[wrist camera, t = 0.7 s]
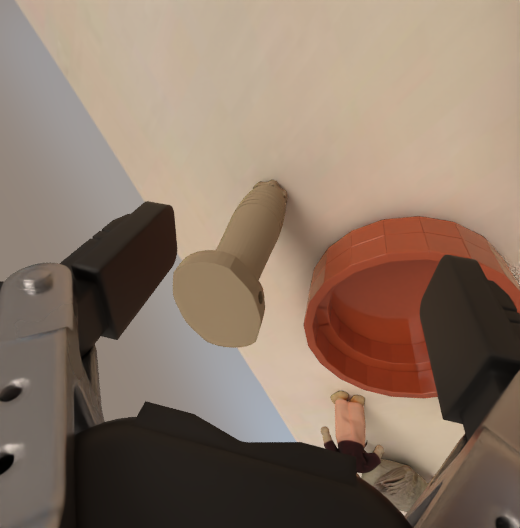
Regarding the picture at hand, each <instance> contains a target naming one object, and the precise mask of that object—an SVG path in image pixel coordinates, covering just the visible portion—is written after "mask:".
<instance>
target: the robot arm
mask: <svg viewBox="0 0 520 528" xmlns="http://www.w3.org/2000/svg"><path fill="white" fill-rule="evenodd" d="M176 255H177V241H176V229H175V218H174V211H173V208H172V206H170V205H165V204H160V203H154V202H148V201H147V202H144V203H143V204H142V205H141V206H140V207H138V208H137V209H136V210H135V211H134V212H133V213H131V214H127V215H125V216H122V217H120V218H117V219H115V220H113V221H112V222H110V223H109V224H108V225H107V226H105V227H104V228H103V229H102V231H99V232H98V233H97V234H95V235H94V236H93V239H89V240H88V241H87V242H86V243H84V244H83V245H82V246H81V247H79V248H78V249H77V250H76V251H74V252H73V253H72V254H71V255H70V256H69V257H67V258H66V259H65V260H63V261H62V262H61V263H60V264H58V263H40V264H35V265H31V266H28V267H25V268H23V269H21V270H18V271H17V272H15V273H13V274H12V275H11V276H9V277H8V278H7V279H6V280H5V281H4V282H0V528H520V314H519V313H518V312H517V308H516V307H515V305H514V303H513V301H512V300H511V298H510V296H509V295H508V294H507V293H506V292H505V291H504V290H503V289H502V288H500V287H499V286H498V285H497V284H496V283H495V282H494V281H490V280H487V278H486V276H485V274H484V272H483V270H482V268H481V266H480V264H479V263H478V261H477V260H475V259H470V258H464V257H458V256H453V255H444V256H443V257H442V258H441V260H440V262H439V264H438V266H437V268H436V270H435V272H434V274H433V276H432V278H431V280H430V282H429V284H428V287H427V289H426V291H425V293H424V295H423V297H422V300H421V304H420V320H421V324H422V329H423V333H424V337H425V342H426V346H427V351H428V355H429V359H430V364H431V368H432V373H433V377H434V381H435V386H436V390H437V395H438V399H439V403H440V408H441V412H442V417H443V419H444V420H448V421H452V422H456V423H460V424H463V426H464V430H465V434H464V436H463V437H462V438H461V439H460V440H459V442H458V443H457V445H456V446H455V447H454V449H453V450H452V452H451V453H450V455H449V456H448V457H447V459H446V460H445V462H444V463H443V464H442V466H441V467H440V469H439V470H438V472H437V473H436V474H435V476H434V477H433V479H432V480H431V482H430V483H429V484H428V486H427V487H426V489H425V490H424V491H423V493H422V494H421V496H420V497H419V498H418V500H417V501H416V502H415V503H414V505H413V506H412V507H411V508H410V510H409V511H408V512H407V514H406V515H405V516H404V515H403V514H402V513H401V512H400V511H399V510H398V509H397V508H396V507H395V505H394V504H393V503H392V502H391V501H390V500H389V499H388V498H386V497H385V496H384V495H383V494H382V493H381V492H380V491H379V490H377V489H376V488H375V487H373V486H372V485H371V484H369V483H368V482H366V481H365V480H363V479H362V478H360V477H358V476H356V457H355V456H351V455H347V454H343V453H340V452H336V451H332V450H328V449H324V448H321V447H317V446H313V445H309V444H305V443H302V442H284V443H283V442H274V443H273V442H272V443H271V442H267V443H266V442H265V443H262V442H261V443H260V442H259V443H258V442H255V443H252V442H251V443H248V442H242V441H239V440H237V439H235V438H234V437H232V436H230V435H229V434H227V433H225V432H224V431H222V430H220V429H218V428H217V427H215V426H213V425H212V424H210V423H208V422H207V421H205V420H203V419H201V418H200V417H198V416H196V415H195V414H191V413H188V412H184V411H180V410H176V409H173V408H169V407H165V406H161V405H157V404H153V403H150V402H145V403H144V405H143V407H142V409H141V410H140V412H139V414H138V416H137V417H128V418H121V419H115V420H112V421H107V422H105V421H104V417H103V413H102V406H101V396H100V384H99V373H98V360H97V350H96V346H95V343H96V341H97V340H98V339H99V338H100V336H104V337H107V338H111V339H116V340H118V338H119V337H120V336H121V334H122V333H123V332H124V330H125V329H126V328H127V326H128V325H129V324H130V322H131V321H132V319H133V318H134V317H135V316H136V314H137V313H138V312H139V310H140V309H141V308H142V306H143V305H144V304H145V302H146V301H147V300H148V298H149V297H150V296H151V294H152V293H153V292H154V290H155V289H156V288H157V286H158V285H159V284H160V282H161V281H162V280H163V278H164V277H165V276H166V274H167V273H168V272H169V270H170V269H171V268H172V266H173V264H174V262H175V259H176Z"/></svg>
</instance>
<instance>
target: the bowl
mask: <svg viewBox="0 0 520 528" xmlns="http://www.w3.org/2000/svg"><path fill="white" fill-rule="evenodd" d="M444 255H453V256H458V257H464V258H470V259H475V260H477V261H478V263H479V264H480V266H481V268H482V270H483V272H484V274H485V276H486V278H487V280H490V281H494V282H495V283H496V284H497V285H498V286H499V287H500V288H502V289H503V290H504V291H505V292H506V293H507V294H508V295H509V296H510V298H511V300H512V301H513V303H514V305H515V307H516V308H517V312H518V313H519V314H520V286H519V284H518V283H517V281H516V279H515V278H514V276H513V274H512V273H511V271H510V269H509V267H508V266H507V264H506V262H505V261H504V259H503V257H502V256H501V255H500V254H499V253H498V252H497V251H496V250H495V249H494V247H493V246H492V245H491V244H490V243H489V242H488V241H487V240H486V239H485V238H484V237H483V236H481V235H479V234H477V233H475V232H473V231H471V230H469V229H467V228H465V227H463V226H461V225H459V224H457V223H455V222H451V221H445V220H439V219H433V218H427V217H421V216H419V217H418V216H415V217H405V218H394V219H384V220H380V221H377V222H375V223H372V224H369V225H366V226H364V227H361V228H358V229H356V230H353V231H351V232H349V233H348V234H347V235H345V236H344V237H343V238H341V239H340V240H339V241H337V242H336V243H335V244H333V245H332V246H330V247H329V248H328V249H327V251H326V252H325V254H324V255H323V256H322V258H321V259H320V261H319V262H318V264H317V265H316V267H315V268H314V272H313V276H312V281H311V285H310V290H309V296H308V302H307V308H306V314H305V319H304V329H305V334H306V338H307V342H308V346H309V348H310V349H311V351H312V352H313V353H314V355H315V356H316V358H317V359H318V361H319V362H320V363H321V364H322V365H323V366H324V367H326V368H327V369H328V370H330V371H331V372H332V373H333V374H335V375H336V376H337V377H338V378H340V379H341V380H344V381H346V382H348V383H350V384H352V385H355V386H357V387H359V388H361V389H363V390H366V391H371V392H375V393H379V394H383V395H387V396H391V397H392V396H393V397H408V398H431V397H438V395H437V390H436V386H435V381H434V377H433V373H432V368H431V364H430V359H429V355H428V351H427V346H426V342H425V337H424V333H423V329H422V324H421V320H420V304H421V300H422V297H423V295H424V293H425V291H426V289H427V287H428V284H429V282H430V280H431V278H432V276H433V274H434V272H435V270H436V268H437V266H438V264H439V262H440V260H441V258H442V257H443V256H444Z"/></svg>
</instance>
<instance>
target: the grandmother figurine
mask: <svg viewBox="0 0 520 528" xmlns="http://www.w3.org/2000/svg"><path fill="white" fill-rule="evenodd" d="M347 398H348V394H347V393H346V392H343V391H338V392H336V393H335V394H333V395H332V396H331V400H332V402H333V403H334V404H335V427H336V439H337V443H338V449H337V447H336V445H335V444H334V442H333V441H332V438H331V435H330V434H329V429H328V428H327V427H322V428H321V433H322V435H323V441H324V446H325V448H326V449H328V450H332V451H336V452H340V453H343V454H347V455H351V456H355V457H356V476H358V477H360V476H359V475H358V474H357V472H358V473H368V472H371V471H372V470H374V469H375V468H376V467H377V466H378V465H379V464H381V457H382V454H383V453H384V448H383V447H382V446H381V445H377V446H376V447H375V451H373V453H363V450H364V447H365V416H364V407H363V406H364V401H365V399H364V397H362V396H359V395H355V396H353V397H352V398H351V400H350V401H349V402H347V401H346V400H347Z"/></svg>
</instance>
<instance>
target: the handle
mask: <svg viewBox="0 0 520 528" xmlns="http://www.w3.org/2000/svg"><path fill="white" fill-rule="evenodd" d="M285 203H287V192H286V191H285V190H283V189H281V188H280V187H279V185H278V184H277V181H275V180H271V181H269V182H259V183H257V184H256V185H255V186H254V187H253V190H252V191H251V192H249V193H248V194H247V195H246V197H245V198H244V199H243V200H242V201H241V203H240V204H239V206H238V207H237V209H236V210H235V212H234V214H233V216H232V218H231V220H230V222H229V224H228V226H227V228H226V231H225V233H224V235H223V237H222V239H221V241H220V243H219V245H218V247H217V249H216V251H215V250H205V251H199V252H196V253H193V254H191V255H189V256H188V257H186V258H185V259H184V260H183V261H182V262H181V263H180V264H179V266H178V267H177V268H176V270H175V271H174V275H173V295H174V299H175V302H176V304H177V306H178V308H179V310H180V312H181V314H182V316H183V318H184V319H185V321H186V322H187V323H188V325H189V326H190V327H191V328H192V329H193V330H194V331H196V332H197V333H198V334H199V335H200V336H201V337H202V338H203V339H204V340H206V341H207V342H209V343H212V344H215V345H218V346H223V347H244V346H248V345H251V344H253V343H254V342H256V339H257V336H258V333H259V330H260V327H261V323H262V320H263V316H264V310H265V302H264V292H263V288H262V286H261V284H260V282H259V281H258V280H259V278H260V276H261V274H262V271H263V269H264V267H265V265H266V263H267V261H268V259H269V256H270V254H271V252H272V250H273V248H274V246H275V244H276V242H277V240H278V237H279V235H280V232H281V229H282V225H283V221H284V216H285V207H286V204H285Z"/></svg>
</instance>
